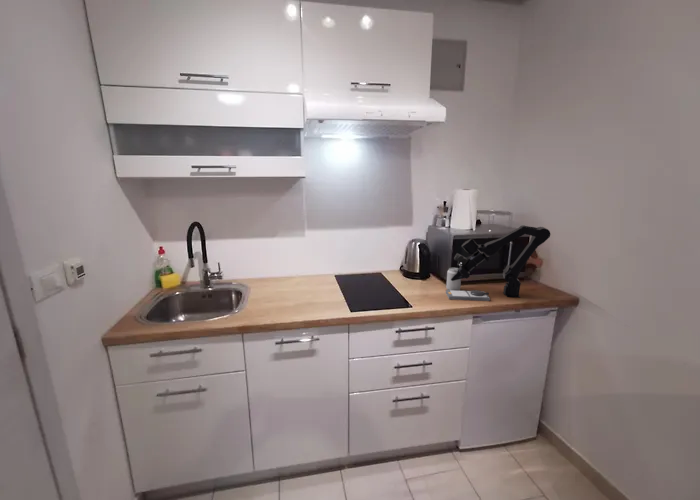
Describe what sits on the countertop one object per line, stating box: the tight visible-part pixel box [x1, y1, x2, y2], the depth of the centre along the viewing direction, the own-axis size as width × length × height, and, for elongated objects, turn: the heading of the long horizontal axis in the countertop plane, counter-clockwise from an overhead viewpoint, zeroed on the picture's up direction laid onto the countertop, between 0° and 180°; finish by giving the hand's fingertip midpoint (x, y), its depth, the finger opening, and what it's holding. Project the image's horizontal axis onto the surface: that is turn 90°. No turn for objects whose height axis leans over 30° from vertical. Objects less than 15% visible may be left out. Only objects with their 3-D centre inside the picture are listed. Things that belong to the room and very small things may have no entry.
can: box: [445, 267, 462, 290], centre depth 179 cm, size 8×8×12 cm
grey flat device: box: [445, 289, 491, 302], centre depth 170 cm, size 21×10×3 cm, turn 84°
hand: (451, 278), depth 180 cm, fingers closed on can, 7 cm apart
